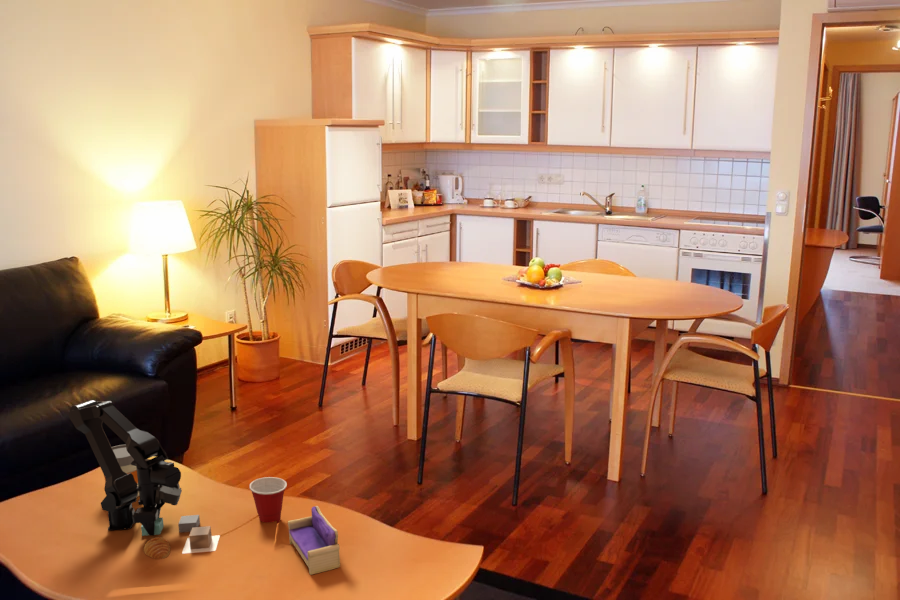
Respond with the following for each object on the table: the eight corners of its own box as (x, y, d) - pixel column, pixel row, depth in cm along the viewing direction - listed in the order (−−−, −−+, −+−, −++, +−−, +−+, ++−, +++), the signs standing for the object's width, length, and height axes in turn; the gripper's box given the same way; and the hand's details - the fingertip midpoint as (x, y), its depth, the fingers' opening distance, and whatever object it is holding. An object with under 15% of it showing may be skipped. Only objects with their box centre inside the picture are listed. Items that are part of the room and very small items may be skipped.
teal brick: (142, 539, 238) (140, 526, 237) (146, 531, 243) (144, 518, 242) (160, 538, 239) (159, 525, 238) (164, 530, 244) (162, 517, 243)
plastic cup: (277, 532, 240) (274, 493, 238) (245, 527, 244) (241, 488, 241) (296, 515, 250) (293, 478, 248) (265, 511, 254) (262, 474, 251)
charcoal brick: (179, 536, 239) (178, 523, 239) (182, 528, 244) (181, 516, 243) (197, 535, 240) (196, 522, 239) (200, 527, 245) (199, 514, 244)
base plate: (182, 557, 227) (181, 553, 227) (187, 541, 236) (187, 538, 236) (215, 554, 228) (215, 550, 228) (220, 539, 237) (220, 535, 237)
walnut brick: (190, 549, 229) (189, 536, 228) (193, 540, 234) (192, 527, 233) (209, 547, 230) (207, 534, 229) (211, 539, 234) (210, 526, 234)
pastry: (175, 559, 227) (174, 546, 226) (150, 567, 223) (148, 554, 222) (166, 545, 234) (165, 533, 234) (141, 553, 231) (140, 540, 230)
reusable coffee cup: (111, 488, 274) (106, 445, 271) (151, 485, 275) (146, 442, 272) (100, 505, 261) (94, 460, 258) (141, 502, 263) (136, 457, 260)
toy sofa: (288, 542, 234) (285, 509, 232) (318, 535, 238) (315, 502, 236) (309, 577, 215) (307, 541, 213) (341, 569, 219) (339, 533, 217)
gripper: (171, 492, 229) (176, 544, 233) (183, 465, 248) (188, 514, 251) (129, 495, 228) (135, 547, 231) (144, 468, 246) (150, 517, 249)
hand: (154, 531), depth 241 cm, fingers closed on teal brick, 5 cm apart
